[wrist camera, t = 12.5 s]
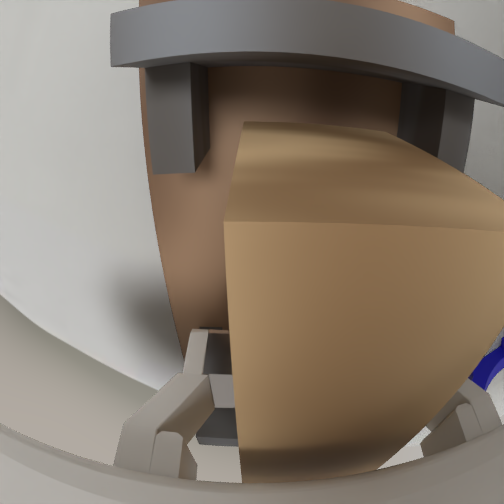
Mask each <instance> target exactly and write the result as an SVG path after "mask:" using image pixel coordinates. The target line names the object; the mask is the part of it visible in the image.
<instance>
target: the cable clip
mask: <svg viewBox="0 0 504 504" xmlns="http://www.w3.org/2000/svg"><path fill="white" fill-rule="evenodd" d="M503 368H504V337H503V338H502V341H501V346H500V347H498V348H497V349H495V350H494V351H492V352H491V353H489V354H488V355H487V356H485V357H484V358H482V360H481V361H480V362H479V364H478V365H477V367H476V368H475V369H474V371H473V372H472V373H471V374H470V376H469V377H468V378H469V379H470V380H471V381H473V382H474V383H475V384H477V385H478V386H479V387H481V388H482V389H483V390H485V391H486V390H487V387H488V385H489V384H490V382H491V381H492V379H493V378H494V377H495V376H496V374H497V373H498V372H499V371H501V370H502V369H503Z"/></svg>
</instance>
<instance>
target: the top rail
mask: <svg viewBox="0 0 504 504" xmlns="http://www.w3.org/2000/svg"><path fill="white" fill-rule="evenodd" d="M224 243H225V264H226V283H227V300H228V317H229V332H230V347H231V361H232V375H233V387H234V400H235V412H236V423H237V434H238V445H239V455H240V465H241V475H242V483H280V482H296V481H308V480H318V479H326V478H334V477H341V476H347V475H353V474H358V473H364V472H369V471H373V470H377V469H378V468H379V467H380V466H381V465H383V464H384V463H385V462H386V461H388V460H389V459H390V458H391V457H392V456H393V455H395V454H396V453H397V452H398V451H399V450H400V449H401V448H403V447H404V446H405V445H406V444H407V443H408V442H409V441H410V440H411V439H412V438H413V437H414V436H415V435H417V434H418V433H419V432H420V431H421V430H422V429H423V428H424V427H425V426H426V425H427V424H428V423H429V422H430V421H431V420H432V418H433V417H434V416H435V415H436V414H437V413H438V412H439V411H440V410H441V409H442V408H443V407H444V406H445V404H446V403H447V402H448V401H449V400H450V399H451V398H452V396H453V395H454V394H455V393H456V392H457V391H458V389H459V388H460V387H461V386H462V385H463V383H464V382H465V381H466V380H467V378H468V377H469V376H470V374H471V373H472V372H473V371H474V369H475V368H476V367H477V365H478V364H479V362H480V361H481V360H482V358H483V357H484V356H485V354H486V353H487V351H488V350H489V348H490V347H491V345H492V344H493V342H494V341H495V339H496V338H497V336H498V335H499V333H500V332H501V330H502V328H503V327H504V200H503V199H501V198H500V197H498V196H497V195H496V194H494V193H493V192H491V191H490V190H488V189H487V188H485V187H484V186H482V185H481V184H479V183H478V182H476V181H475V180H473V179H472V178H470V177H468V176H467V175H465V174H464V173H462V172H460V171H459V170H457V169H455V168H454V167H452V166H450V165H449V164H447V163H445V162H443V161H442V160H440V159H438V158H436V157H435V156H433V155H431V154H429V153H427V152H425V151H423V150H422V149H420V148H418V147H416V146H414V145H412V144H410V143H408V142H406V141H404V140H402V139H400V138H398V137H396V136H394V135H391V134H389V133H387V132H384V131H377V130H369V129H362V128H353V127H344V126H334V125H322V124H309V123H291V122H257V121H244V123H243V128H242V133H241V137H240V142H239V147H238V151H237V156H236V161H235V166H234V171H233V176H232V181H231V186H230V191H229V196H228V201H227V206H226V211H225V217H224Z"/></svg>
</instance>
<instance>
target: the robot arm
mask: <svg viewBox="0 0 504 504" xmlns="http://www.w3.org/2000/svg"><path fill="white" fill-rule="evenodd" d="M214 407H215V408H235V400H234V387H233V375H232V361H231V347H230V332H229V330H212V329H210V330H207V329H192V331H191V333H190V337H189V342H188V347H187V352H186V358H185V363H184V368H183V373H177V374H176V375H175V376H174V377H173V378H172V379H171V380H170V381H168V382H167V383H166V384H165V385H164V386H163V387H162V388H161V389H160V390H159V391H158V392H157V393H156V394H155V395H154V396H153V397H151V398H150V399H149V400H148V401H147V402H146V403H145V404H144V405H143V406H142V407H141V408H140V409H139V410H137V411H136V412H135V413H134V414H133V415H132V416H131V417H130V418H129V419H128V420H127V421H125V422H124V424H123V428H122V431H121V435H120V439H119V444H118V447H117V452H116V456H115V460H114V464H113V466H111V465H108V464H104V463H100V462H97V461H93V460H90V459H87V458H83V457H80V456H77V455H74V454H71V453H68V452H65V451H63V450H60V449H57V448H54V447H52V446H49V445H47V444H44V443H42V442H39V441H37V440H35V439H32V438H30V437H28V436H25V435H23V434H21V433H19V432H17V431H15V430H12V429H11V428H8V427H6V426H5V425H2V424H0V504H504V424H503V425H502V423H501V420H500V418H499V415H498V413H497V411H496V408H495V406H494V404H493V402H492V399H491V397H490V395H489V393H487V392H486V391H485V390H483V389H482V388H481V387H479V386H478V385H477V384H475V383H474V382H473V381H471V380H470V379H469V378H467V380H466V381H465V382H464V383H463V385H462V386H461V387H460V388H459V389H458V391H457V392H456V393H455V394H454V395H453V396H452V398H451V399H450V400H449V401H448V402H447V403H446V404H445V406H444V407H443V408H442V409H441V410H440V411H439V412H438V413H437V414H436V415H435V416H434V417H433V418H432V420H431V421H430V422H429V423H428V424H427V425H426V426H427V428H428V429H429V430H430V431H431V433H430V434H429V435H428V436H427V437H426V438H424V439H423V440H422V442H421V444H420V445H421V448H422V452H423V456H424V457H423V458H420V459H416V460H413V461H409V462H406V463H402V464H399V465H395V466H391V467H387V468H383V469H378V470H373V471H369V472H364V473H358V474H353V475H347V476H341V477H334V478H326V479H318V480H308V481H296V482H280V483H226V482H209V481H198V480H196V476H197V463H196V462H195V460H194V458H193V456H192V454H191V452H190V450H189V448H188V446H187V444H188V443H189V441H190V440H191V439H192V438H193V436H194V435H195V434H196V433H197V431H198V430H199V429H200V428H201V426H202V425H203V424H204V422H205V421H206V420H207V419H208V417H209V416H210V415H211V413H212V412H213V411H214V409H215V408H214Z"/></svg>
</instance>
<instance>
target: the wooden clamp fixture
mask: <svg viewBox="0 0 504 504" xmlns="http://www.w3.org/2000/svg"><path fill="white" fill-rule="evenodd" d="M110 54H111V67H136V68H139V78H140V97H141V112H142V125H143V136H144V147H145V156H146V165H147V173H148V181H149V189H150V196H151V203H152V209H153V216H154V222H155V228H156V234H157V240H158V246H159V251H160V256H161V262H162V267H163V272H164V277H165V282H166V286H167V291H168V296H169V300H170V305H171V309H172V313H173V318H174V322H175V326H176V330H177V334H178V338H179V342H180V346H181V350H182V354H183V357H184V361H185V358H186V352H187V347H188V342H189V337H190V333H191V331H192V329H207V330H210V329H212V330H229V317H228V300H227V283H226V264H225V243H224V217H225V211H226V206H227V201H228V196H229V191H230V186H231V181H232V176H233V171H234V166H235V161H236V156H237V151H238V147H239V142H240V137H241V133H242V128H243V123H244V121H257V122H291V123H309V124H322V125H334V126H344V127H353V128H362V129H369V130H377V131H384V132H387V133H389V134H391V135H394V136H396V137H398V138H400V139H402V140H404V141H406V142H408V143H410V144H412V145H414V146H416V147H418V148H420V149H422V150H423V151H425V152H427V153H429V154H431V155H433V156H435V157H436V158H438V159H440V160H442V161H443V162H445V163H447V164H449V165H450V166H452V167H454V168H455V169H457V170H459V171H460V172H462V173H463V172H464V167H465V162H466V157H467V152H468V146H469V140H470V134H471V127H472V119H473V110H474V100H475V99H477V100H481V101H485V102H489V103H492V104H496V105H499V106H503V107H504V59H502V58H500V57H499V56H497V55H495V54H493V53H491V52H489V51H487V50H485V49H483V48H481V47H479V46H477V45H475V44H473V43H471V42H469V41H467V40H464V39H462V38H460V37H458V36H455V29H454V21H453V20H450V19H448V18H446V17H443V16H441V15H438V14H436V13H433V12H431V11H428V10H425V9H422V8H420V7H417V6H414V5H411V4H408V3H405V2H401V1H398V0H139V7H136V8H132V9H128V10H124V11H120V12H116V13H112V14H111V23H110ZM214 408H215V407H214ZM196 438H197V440H198V442H199V444H203V445H215V446H238V447H239V445H238V434H237V423H236V412H235V408H215V409H214V411H213V412H212V413H211V415H210V416H209V417H208V419H207V420H206V421H205V422H204V424H203V425H202V426H201V428H200V429H199V430H198V431H197V433H196Z"/></svg>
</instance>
